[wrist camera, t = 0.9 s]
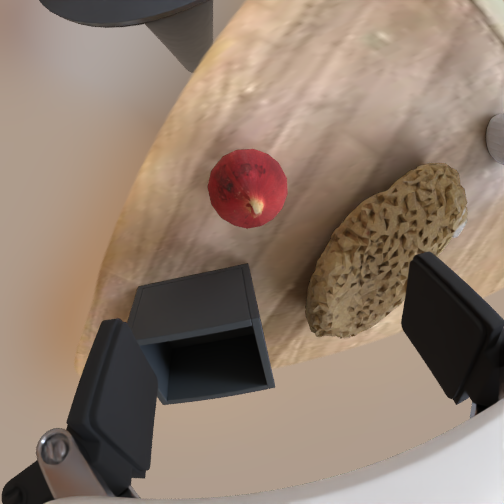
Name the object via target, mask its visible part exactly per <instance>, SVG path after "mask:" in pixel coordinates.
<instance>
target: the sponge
mask: <svg viewBox="0 0 504 504" xmlns="http://www.w3.org/2000/svg"><path fill="white" fill-rule="evenodd" d="M416 168H417V169H415V170H412V169H411V170H410V171H409V172H407V173H406V174H405V175H404V176H403V177H401V178H400V179H398V180H397V181H396V182H395V183H393V184H392V186H391V187H390V188H389V189H388V190H387V191H385V192H380V193H377V194H375V195H373V196H371V197H370V198H368V199H366V200H364V201H363V202H361V204H359V205H358V206H357V207H356V208H355V209H354V210H353V211H352V212H351V213H350V214H349V215H348V216H347V217H346V218H345V219H344V222H343V223H341V224H340V226H339V227H338V228H336V229H335V231H334V232H333V234H332V236H331V238H332V239H331V240H330V241H329V243H328V244H327V246H326V248H325V250H324V252H323V253H322V254H321V257H320V258H319V259H318V260H317V264H316V270H315V272H314V273H313V275H312V276H311V279H310V283H309V286H308V297H307V300H306V310H305V313H306V318H307V320H308V323H309V326H310V329H311V331H312V332H314V333H315V335H316V336H317V337H322V336H335V335H336V336H337V337H340V339H341V338H346V337H350V335H351V336H355V335H357V334H359V333H360V332H362V331H365V330H367V329H369V328H371V327H373V326H374V325H376V324H377V323H378V322H379V321H380V320H382V319H383V318H384V317H385V316H387V315H388V314H389V313H390V312H391V311H392V310H394V309H395V308H396V307H398V306H399V305H400V304H401V303H402V302H403V301H404V300H405V295H406V288H407V280H408V272H409V264H410V261H412V260H413V257H414V256H415V255H417V254H421V253H425V252H431V253H433V254H434V255H435V256H436V257H438V255H439V254H440V253H441V252H442V251H443V250H444V249H445V247H446V246H447V244H448V243H449V242H450V240H451V238H452V237H458V236H459V234H460V233H461V231H462V230H463V228H464V226H465V224H466V223H467V207H466V204H467V200H466V195H465V190H464V188H463V187H462V186H460V178H459V174H458V172H457V170H455V169H452V168H451V167H450V166H448V165H447V164H446V163H428V164H425V165H421V166H418V167H416Z"/></svg>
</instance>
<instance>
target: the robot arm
mask: <svg viewBox="0 0 504 504" xmlns="http://www.w3.org/2000/svg"><path fill="white" fill-rule="evenodd" d="M401 324H402V328H403V331H404V332H405V334H406V335H407V336H408V338H409V339H410V341H411V342H412V344H413V345H414V347H415V348H416V349H417V351H418V352H419V354H420V355H421V357H422V358H423V360H424V361H425V363H426V364H427V366H428V367H429V369H430V370H431V372H432V374H433V375H434V377H435V378H436V380H437V381H438V383H439V384H440V386H441V387H442V389H443V391H444V392H445V394H446V395H447V397H448V398H450V399H453V400H454V402H455V403H456V405H457V404H459V403H461V402H462V401H464V400H466V399H468V398H469V397H470V399H471V400H472V408H471V414H470V419H469V420H467V421H465V422H464V423H462V424H460V425H458V426H456V427H454V428H453V429H451V430H449V431H447V432H445V433H443V434H441V435H439V436H437V437H435V438H433V439H432V440H429V441H427V442H425V443H423V444H420V445H418V446H416V447H414V448H412V449H409V450H407V451H405V452H402V453H400V454H397V455H395V456H392V457H390V458H387V459H385V460H382V461H379V462H377V463H374V464H371V465H368V466H366V467H363V468H359V469H356V470H353V471H351V472H347V473H344V474H340V475H337V476H333V477H330V478H326V479H322V480H318V481H315V482H310V483H306V484H302V485H297V486H292V487H287V488H282V489H277V490H271V491H265V492H259V493H252V494H244V495H235V496H225V497H213V498H195V499H141V498H140V497H139V495H138V494H137V493H136V492H135V490H134V489H133V488H132V486H131V478H145V473H146V470H149V468H150V462H151V448H152V437H153V426H154V417H155V408H156V398H157V391H158V379H157V376H156V374H155V373H154V371H153V369H152V368H151V366H150V364H149V362H148V361H147V359H146V357H145V355H144V354H143V352H142V350H141V348H140V346H139V344H138V343H137V341H136V339H135V337H134V335H133V333H132V331H131V329H130V327H129V326H128V324H127V323H126V322H122V320H121V319H119V318H117V319H111V320H104V321H102V323H101V325H100V328H99V330H98V333H97V335H96V338H95V340H94V343H93V345H92V348H91V351H90V353H89V356H88V359H87V362H86V364H85V367H84V370H83V373H82V376H81V378H80V381H79V384H78V388H77V391H76V393H75V396H74V400H73V403H72V406H71V409H70V412H69V416H68V419H67V424H68V425H67V429H66V430H65V429H62V428H54V429H51V430H49V431H47V432H46V433H45V434H44V435H43V436H42V437H41V438H40V440H39V442H38V444H37V447H36V455H37V461H36V462H34V463H33V464H32V465H30V466H29V467H27V468H26V469H25V470H23V471H22V472H21V473H19V474H18V475H17V476H15V477H14V478H12V479H11V480H10V481H9V482H8V483H7V484H6V485H5V486H4V488H3V491H2V503H3V504H504V320H503V319H502V318H501V317H500V316H499V314H497V313H496V311H495V310H494V309H492V307H491V306H490V305H489V304H488V303H486V301H484V300H483V299H482V298H481V297H480V296H479V295H478V294H477V293H476V292H475V291H474V290H473V289H472V288H471V287H470V286H469V285H468V284H467V283H466V282H465V281H463V280H462V279H461V278H460V277H459V276H458V275H457V274H456V273H455V272H454V271H452V270H451V269H450V268H449V267H448V266H447V265H446V264H444V263H443V262H442V261H441V260H440V259H439V258H438V257H436V256H435V255H434V254H433V253H431V252H425V253H421V254H417V255H415V256H414V257H413V260H412V261H410V264H409V272H408V280H407V288H406V295H405V302H404V309H403V315H402V321H401Z"/></svg>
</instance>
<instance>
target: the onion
mask: <svg viewBox="0 0 504 504" xmlns="http://www.w3.org/2000/svg"><path fill="white" fill-rule="evenodd" d="M208 191H209V196H210V200H211V204H212V206H213V207H214V209H215V210H216V211H217V213H218V214H219V216H220V217H221V218H222V219H224V220H226V221H227V222H229V223H231V224H232V225H235V226H239V227H243V228H247V229H248V228H253V227H258V226H262V225H264V224H265V223H267V222H269V221H271V220H272V219H273V218H274V217H275V216H276V215H277V214H278V213H279V212H280V210H281V209H282V207H283V204H284V202H285V199H286V196H287V178H286V176H285V174H284V172H283V170H282V168H281V167H280V165H279V163H278V162H277V161H276V160H274V159H273V158H272V157H271V156H269V155H268V154H266V153H263V152H260V151H258V150H255V149H243V150H236V151H234V152H231V153H229V154H227V155H225V156H223V157H222V158H221V159H220V161H219V162H218V163H217V164H216V166H215V167H214V168H213V169H212V171H211V174H210V178H209V182H208Z"/></svg>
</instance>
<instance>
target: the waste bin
mask: <svg viewBox="0 0 504 504" xmlns="http://www.w3.org/2000/svg"><path fill="white" fill-rule="evenodd" d="M127 324H128V326H129V327H130V329H131V331H132V333H133V335H134V337H135V339H136V341H137V343H138V344H139V346H140V348H141V350H142V352H143V354H144V355H145V357H146V359H147V361H148V362H149V364H150V366H151V368H152V369H153V371H154V373H155V374H156V376H157V379H158V391H157V397H158V398H159V400H160V401H161V403H162V404H163V405H168V404H176V403H185V402H193V401H201V400H208V399H215V398H221V397H228V396H233V395H239V394H245V393H249V392H255V391H260V390H265V389H268V388H269V389H270V388H275V383H274V379H273V374H272V370H271V365H270V361H269V356H268V351H267V347H266V342H265V338H264V333H263V329H262V324H261V320H260V315H259V311H258V306H257V301H256V297H255V292H254V288H253V283H252V278H251V274H250V269H249V265H248V263H247V264H243V265H238V266H233V267H229V268H224V269H219V270H215V271H210V272H205V273H201V274H196V275H191V276H186V277H182V278H177V279H172V280H167V281H162V282H158V283H153V284H148V285H143V286H139V287H138V289H137V292H136V295H135V299H134V302H133V305H132V308H131V311H130V315H129V318H128V322H127Z"/></svg>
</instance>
